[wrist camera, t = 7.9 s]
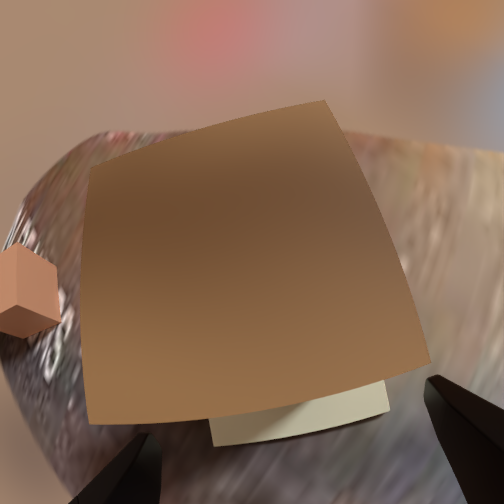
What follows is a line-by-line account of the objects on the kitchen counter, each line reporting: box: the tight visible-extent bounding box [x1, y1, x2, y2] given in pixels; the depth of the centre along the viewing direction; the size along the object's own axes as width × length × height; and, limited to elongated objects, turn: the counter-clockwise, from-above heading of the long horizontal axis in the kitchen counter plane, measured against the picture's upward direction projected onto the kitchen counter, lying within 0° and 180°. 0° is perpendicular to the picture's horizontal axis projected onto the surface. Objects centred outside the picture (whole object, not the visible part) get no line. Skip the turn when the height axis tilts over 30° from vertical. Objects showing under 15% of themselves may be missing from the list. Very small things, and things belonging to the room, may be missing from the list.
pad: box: [209, 380, 390, 447], centre depth 17 cm, size 10×10×1 cm
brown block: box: [80, 100, 431, 424], centre depth 11 cm, size 5×5×14 cm
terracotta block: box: [0, 242, 61, 339], centre depth 20 cm, size 5×5×5 cm
